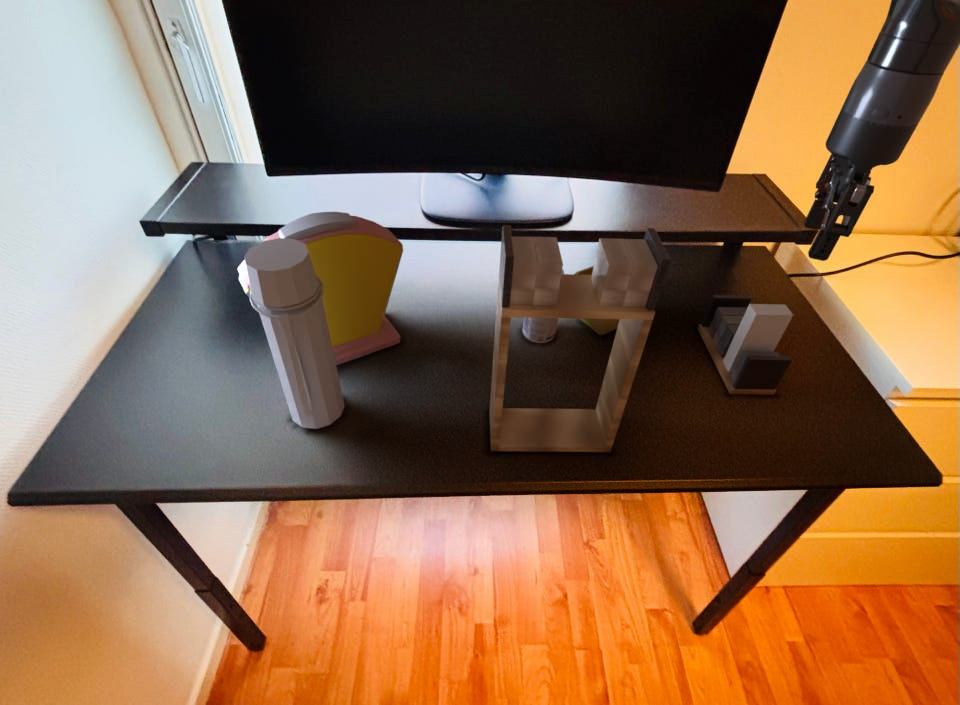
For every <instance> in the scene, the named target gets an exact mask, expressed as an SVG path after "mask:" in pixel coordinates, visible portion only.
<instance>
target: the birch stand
mask: <svg viewBox="0 0 960 705" xmlns="http://www.w3.org/2000/svg"><path fill="white" fill-rule="evenodd" d="M495 310H496V312H495V325H494V340H493V353H492V354H493V355H492V356H493V357H492V370H491V385H490V399H489V436H490V437H489V438H490V439H489V440H490V452H549V453H550V452H551V453H553V452H556V453H559V452H560V453H561V452H562V453H563V452H564V453H565V452H566V453H567V452H568V453H569V452H570V453H611V452H612V448H613V445H614V443H615V439H616V436H617V433H618V430H619V427H620V423H621V420H622V418H623V415H624V411H625V408H626V405H627V402H628V398H629V395H630V393H631V389H632V387H633V383H634V381H635V380H634V379H635V377H636V374H637V370H638V367H639V364H640V361H641V359H642V356H643V353H644V349H645V346H646V342H647V339H648V336H649V334H650V331H651V327H652V324H653V320H654V319H653V320H634V319H620V320H619V324H618V328H617V329H616V332H615V336H614V340H613V343H612V347H611V351H610V354H609V358H608V362H607V365H606V369H605V373H604V377H603V380H602V384H601V388H600V392H599V396H598V399H597V403H596V405H595V406H596V407H595V408H530V407H529V408H527V407H526V408H524V407H523V408H522V407H521V408H519V407H517V408H515V407H513V408H512V407H511V408H510V407H504V398H505V387H506V377H507V376H506V375H507V367H508V366H507V364H508V352H509V342H510V332H511V321H512V317H501V308H500V294H499V280H498V281H497V296H496V309H495Z"/></svg>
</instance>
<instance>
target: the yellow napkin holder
mask: <svg viewBox="0 0 960 705" xmlns="http://www.w3.org/2000/svg"><path fill="white" fill-rule="evenodd" d="M278 238H284V239H295V240H297V241H299V242H302V243H304V244H306V247H307V249H308V252H309V255H310V258H311V261H312V264H313V267H314V270H315V273H316V276H317V277H319V278H320V280H321V282H322V283H323V285H324V291H323V296H322V298H323V303H324V308H325V313H326V318H327V323H328V328H329V333H330V337H331V342H332V347H333V352H334V357H335V362H336V366H338V365H341V364H344V363H347V362H350V361H352V360H355V359H359V358H361V357H364V356H367V355H370V354H372V353H375V352H378V351H381V350H383V349H386V348H389V347H392V346H395V345H397V344H400V342H401V341H402V340H401V335H400V334H399V333H398V331H397V330H396V329H395V327H394V326H393V325H392V323H391V322H390V321H389V320H388V318H387V317H386V313H387V312H386V311H387V309H388V305H389V302H390V298H391V294H392V291H393V287H394V284H395V280H396V276H397V274H398V270H399V267H400V263H401V259H402V256H403V253H404V245H403V243H402V242H401V241H400V240H399V239H398V238H397V237H396V236H395V235H394V233H393V232H392V231H390V229H388V228H387V227H385V226H383V225H381V224H379V223H378V222H375V221H373V220H371V219H367V218H364V217H360V216H357V215H351V214H350V213H348V212H343V211H342V212H341V211H320V212H312V213H309V214H306V215H303V216H301V217H298V218H296V219H294V220H292V221H289V222H288V223H286V224H285V225H283V226H282V227H281V228H279V229H278V231H276V232H274V233H272V234H271V235H269V236H267V237H266V238H264V239H263V241H267V240H273V239H278ZM237 271H238V274H239V275H238V281H239V283H240V285H241V287H242V289H243V291H244V293H245V295H246V296H247V297H248V298H249V299H250V292H251V289H250V284H249V279H248V274H247V268H246V263H245V259H244V260H243V261H242V262H241V263H240V264H239V265H238V266H237ZM320 291H321V290H320ZM253 301H254V303H255V300H253ZM255 305H256V306H257V304H256V303H255Z"/></svg>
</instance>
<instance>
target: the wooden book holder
mask: <svg viewBox="0 0 960 705" xmlns="http://www.w3.org/2000/svg"><path fill="white" fill-rule="evenodd" d="M499 256H500V258H499V272H498V281H499V294H500V308H501V317H511V318H517V319H519V318H520V319H521V318H523V319H524V318H558V319H574V320H575V319H577V320H579V319H580V320H581V319H634V320H654V318H655V315H656V311H655V310H656V308H657V304H658V302H659V298H660V295H661V292H662V289H663V285H664V282H665V279H666V277H667V273H668V271H669V267H670V264H671V258H670V256H669V253H668V252H667V250H666V248H665V246H664V244H663V242H662V240H661V239H660V237H659V234H658V232H657V231H656V229H655V228H654V227H653V228H652V227H650V228H649V227H647V228H646V231H645V234H644V238H607V237H606V238H605V237H602V238H601V237H599V238H598V244H597V249H596V254H595V259H594V263H593V266H594V267H593V272H592V275H576V274H575V273H574V274H572V273H571V274H567V273H564V274H561V273H562V269H563V267H564V263H563V262H564V261H563V258H562V254H561V250H560V245H559V241H558V238H557V236H515V235H514V236H512V228H511V225H510V224H502V228H501V244H500V255H499Z"/></svg>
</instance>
